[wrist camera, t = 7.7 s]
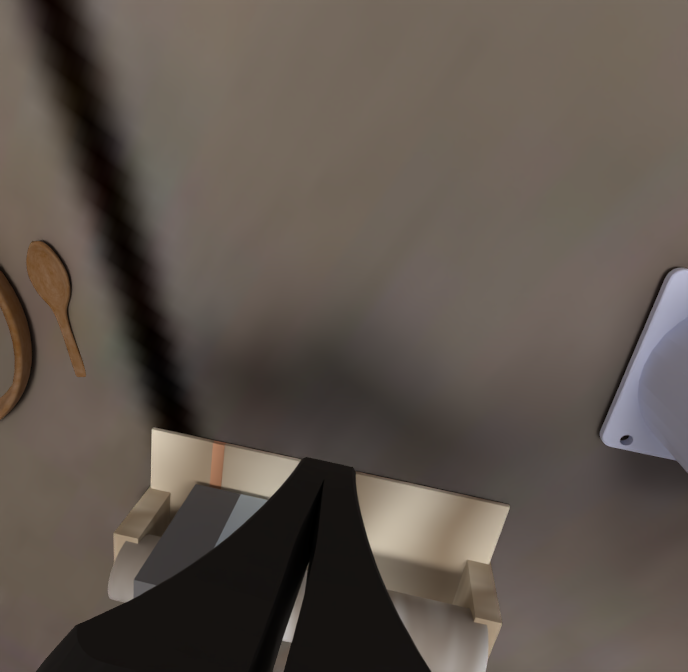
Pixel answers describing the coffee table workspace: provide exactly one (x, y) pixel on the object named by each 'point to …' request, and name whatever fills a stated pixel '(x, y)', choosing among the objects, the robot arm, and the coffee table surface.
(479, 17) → the coffee table surface
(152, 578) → the grey notched block
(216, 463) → the pipe rig
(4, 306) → the place setting
